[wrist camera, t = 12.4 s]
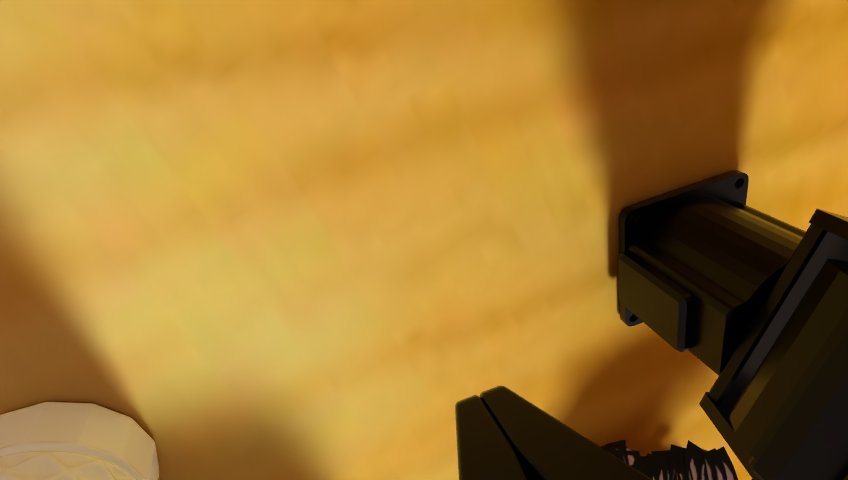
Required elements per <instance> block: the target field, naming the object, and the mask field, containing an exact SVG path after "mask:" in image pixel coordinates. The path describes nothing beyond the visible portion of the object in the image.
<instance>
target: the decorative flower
mask: <svg viewBox="0 0 848 480" xmlns="http://www.w3.org/2000/svg"><path fill="white" fill-rule="evenodd" d="M601 448H603V449H604V450H606V451H607V452H609V453H611V454H612V455H614V456H615V457H617V458H619V459H620V460H622V461H623V462H625V463H626V464H628V465H630V466H631V467H633V468H634V469H636V470H638V471H639V472H641V473H642V474H644V475H645V476H647V477H649V478H650V479H652V480H738V478H737V475H736V472H735V469H734V466H733V464H732V462H731V460H730V458H729V456H728V454H727V452H726V450H725V448H724V447H722V448H720V449H718V450H716V449H712V450H710V451H706V450H703V449H701V448H699V447H698V446H696V445H695V444H693V443H692V442H690V441H689V440H688V444H687V448H682V447H679V446H675V445H672V444H671V448H670V450H669V451H653V452H651V453H652V454H647V456H640V455H639V451H632V450H631V449H630V448H628V447H627V446H626V440H622V441H618V442H614V443H610V444H605V446H602V447H601ZM752 480H753V479H752Z"/></svg>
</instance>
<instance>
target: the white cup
mask: <svg viewBox="0 0 848 480" xmlns="http://www.w3.org/2000/svg"><path fill="white" fill-rule="evenodd" d="M158 478H159V464H158V458H157V452H156V446H155V441H154V440H153V439H152V438H151V437H150V436H149V435H148V434H147V433H146V432H145V431H144V430H143V429H142V428H141V427H140V426H139V425H138V424H137V423H136V422H135V421H134V420H133V419H132V418H131V417H128V416H125V415H123V414H120V413H118V412H115V411H112V410H110V409H107V408H104V407H102V406H99V405H96V404H93V403H68V402H44V403H40V404H36V405H33V406H29V407H26V408H22V409H19V410H15V411H12V412H8V413H4V414H1V415H0V480H158Z"/></svg>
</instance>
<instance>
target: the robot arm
mask: <svg viewBox="0 0 848 480" xmlns="http://www.w3.org/2000/svg"><path fill="white" fill-rule="evenodd" d="M748 181H749V180H748V175H747V174H745V173H743V172H740V171H737V170H735V171H731V172H728V173H725V174H722V175H719V176H716V177H713V178H710V179H707V180H704V181H701V182H698V183H695V184H692V185H689V186H686V187H684V188H681V189H678V190H675V191H672V192H669V193H666V194H663V195H660V196H657V197H654V198H651V199H648V200H645V201H642V202H639V203H636V204H633V205H630V206H628V207H626V208H624V209H623V210H622V212H621V213H620V215H619V259H618V279H619V301H620V318H621V320H622V321H623V322H624V323H625V324H626V325H628V326H635V325H637V324H640V323H642V322H644V323H645V324H646V325H648V326H649V327H650V328H651V329H652V330H653V331H655V332H656V333H657V334H658V335H659V336H661V337H662V338H663V339H664V340H665V341H666V342H668V343H669V344H670V345H671V346H672V347H673V348H675V349H676V350H678V351H680V352H684V351H686V350H689V351H690V352H691V353H692V354H693V355H695V356H696V357H697V358H698V359H700V360H701V361H702V362H703V363H704V364H706V365H707V366H708V367H709V368H710V369H712V370H713V371H714V372H715V373H716V374H718V375H719V376H718V378H717V380H716V381H715V383H714V385H713V386H712V388H711V390H710V391H709V392H706V393H705V395H704V396H703V398H702V400H701V401H700V403H699V404H700V406H701V407H702V408H703V410H704V411H705V413H706V414H707V415H708V417H709V418H710V420H711V421H712V422H713V424H714V425H715V427H716V428H717V429H718V431H719V432H720V434H721V435H722V436H723V438H724V439H725V441H726V442H727V443H728V445H729V446H730V448H731V449H732V450H733V452H734V453H735V455H736V456H737V457H738V459H739V460H740V462H741V463H742V464H743V466H744V467H745V469H746V470H747V471H748V473H749V474H750V476H751V477H752V478H753V480H848V217H844V216H841V215H838V214H834V213H831V212H827V211H824V210H821V209H816V211H815V213H814V214H813V216H812V218H811V219H810V221H809V223H811V225H810V226H809V228H808V230H807V231H806V232H805V231H803V230H801V229H798V228H796V227H794V226H792V225H789V224H787V223H785V222H782V221H780V220H778V219H776V218H773V217H771V216H769V215H767V214H764V213H762V212H760V211H757V210H755V209H753V208H751V207H748V206H746V198H747V189H748ZM735 182H736V183H735ZM632 215H633V218H632V219H631V220H630V218H631V216H632ZM629 220H630V221H629ZM631 315H632V316H631ZM455 413H456V431H457V450H458V469H459V480H652V479H650V478H649V477H647V476H645V475H644V474H642V473H641V472H639V471H638V470H636V469H634V468H633V467H631V466H630V465H628V464H626V463H625V462H623V461H622V460H620V459H619V458H617V457H615V456H614V455H612V454H611V453H609V452H607V451H606V450H604V449H603V448H601V447H600V446H598V445H596V444H595V443H593V442H592V441H590V440H589V439H587V438H585V437H584V436H582V435H581V434H579V433H577V432H576V431H574V430H573V429H571V428H570V427H568V426H566V425H565V424H563V423H562V422H560V421H558V420H557V419H555V418H554V417H552V416H551V415H549V414H547V413H546V412H544V411H543V410H541V409H539V408H538V407H536V406H535V405H533V404H532V403H530V402H528V401H527V400H525V399H524V398H522V397H520V396H519V395H517V394H516V393H514V392H513V391H511V390H509V389H508V388H506V387H504V386H497V387H495V388H492V389H489V390H487V391H484V392H482V393H481V394H480V397H479V396H477V395H474V396H471V397H469V398H466V399H464V400H461V401H458V402H457V403H456V405H455Z"/></svg>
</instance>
